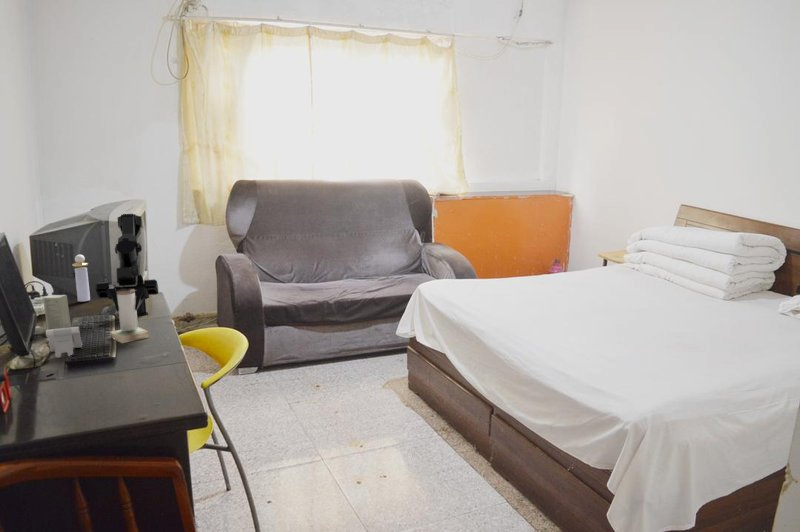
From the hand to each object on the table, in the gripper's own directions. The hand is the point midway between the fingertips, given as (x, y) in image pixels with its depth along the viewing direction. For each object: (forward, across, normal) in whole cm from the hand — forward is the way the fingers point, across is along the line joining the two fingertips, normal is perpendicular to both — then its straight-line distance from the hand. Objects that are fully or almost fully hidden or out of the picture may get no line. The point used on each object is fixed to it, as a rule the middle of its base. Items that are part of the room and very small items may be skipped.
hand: (126, 310), depth 194 cm
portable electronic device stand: (+14, -17, 0) cm, 22 cm away
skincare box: (-6, -25, +20) cm, 32 cm away
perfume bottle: (-35, -24, +50) cm, 65 cm away
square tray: (+6, 0, +8) cm, 10 cm away
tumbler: (+4, 0, +6) cm, 7 cm away
